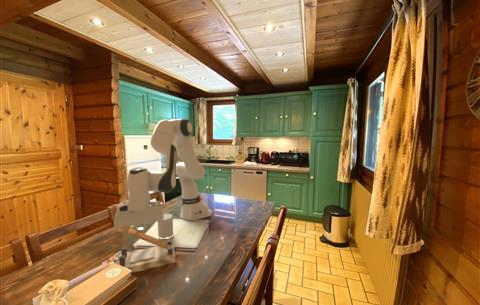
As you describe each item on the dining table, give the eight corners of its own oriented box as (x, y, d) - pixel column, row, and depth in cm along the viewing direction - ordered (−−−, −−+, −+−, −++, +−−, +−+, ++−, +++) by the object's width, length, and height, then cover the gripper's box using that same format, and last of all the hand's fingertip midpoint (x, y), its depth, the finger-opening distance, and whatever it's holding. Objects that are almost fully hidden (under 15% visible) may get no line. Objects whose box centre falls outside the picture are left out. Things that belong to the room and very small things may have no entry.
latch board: (173, 248, 104) (172, 235, 103) (175, 262, 93) (175, 248, 92) (120, 259, 95) (120, 246, 94) (116, 276, 84) (115, 261, 83)
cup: (176, 234, 118) (175, 215, 117) (166, 241, 110) (166, 220, 109) (164, 231, 121) (164, 213, 119) (155, 238, 113) (154, 218, 112)
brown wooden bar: (170, 247, 99) (171, 244, 99) (170, 251, 96) (172, 248, 96) (128, 230, 91) (130, 227, 91) (127, 234, 87) (129, 231, 87)
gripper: (163, 198, 96) (164, 225, 98) (115, 203, 88) (116, 233, 90) (164, 202, 91) (164, 231, 92) (112, 208, 83) (113, 240, 84)
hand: (140, 232), depth 91 cm, fingers closed
